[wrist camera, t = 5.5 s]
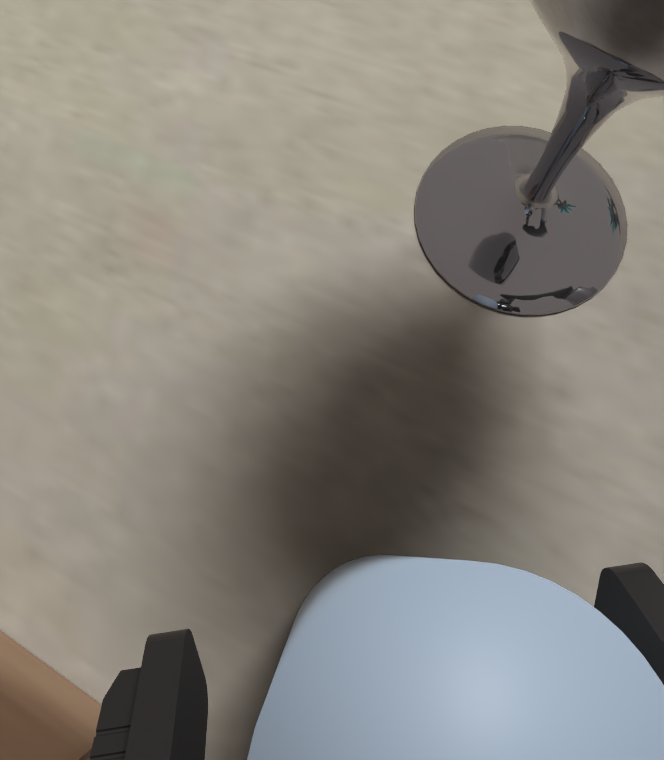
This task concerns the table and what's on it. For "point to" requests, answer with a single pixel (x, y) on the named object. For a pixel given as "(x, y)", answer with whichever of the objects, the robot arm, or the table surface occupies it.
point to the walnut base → (41, 710)
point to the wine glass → (545, 173)
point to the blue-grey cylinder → (456, 671)
